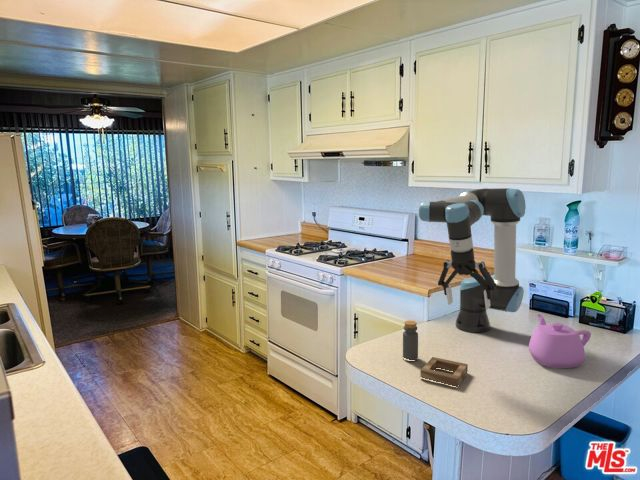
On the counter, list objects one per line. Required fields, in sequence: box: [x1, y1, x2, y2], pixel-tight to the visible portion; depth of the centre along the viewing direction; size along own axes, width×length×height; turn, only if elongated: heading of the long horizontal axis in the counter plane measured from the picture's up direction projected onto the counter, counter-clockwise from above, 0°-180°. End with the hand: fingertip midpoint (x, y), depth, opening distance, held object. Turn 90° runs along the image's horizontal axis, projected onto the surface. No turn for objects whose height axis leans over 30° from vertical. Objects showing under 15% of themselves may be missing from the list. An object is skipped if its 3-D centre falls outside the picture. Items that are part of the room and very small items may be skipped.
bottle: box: [402, 320, 419, 360], centre depth 173 cm, size 6×6×15 cm
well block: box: [419, 356, 469, 387], centre depth 159 cm, size 13×13×4 cm
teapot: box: [528, 314, 592, 369], centre depth 170 cm, size 23×21×15 cm
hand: (468, 305), depth 157 cm, fingers open, 13 cm apart
